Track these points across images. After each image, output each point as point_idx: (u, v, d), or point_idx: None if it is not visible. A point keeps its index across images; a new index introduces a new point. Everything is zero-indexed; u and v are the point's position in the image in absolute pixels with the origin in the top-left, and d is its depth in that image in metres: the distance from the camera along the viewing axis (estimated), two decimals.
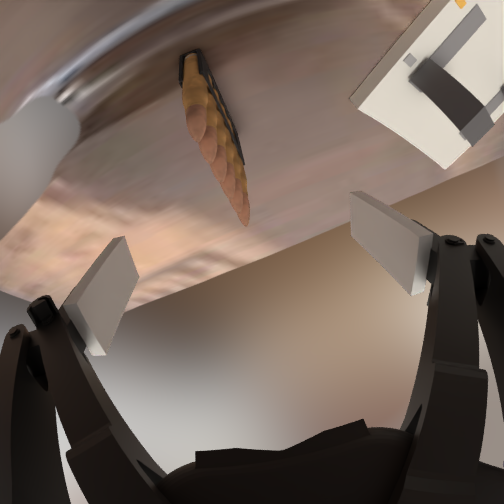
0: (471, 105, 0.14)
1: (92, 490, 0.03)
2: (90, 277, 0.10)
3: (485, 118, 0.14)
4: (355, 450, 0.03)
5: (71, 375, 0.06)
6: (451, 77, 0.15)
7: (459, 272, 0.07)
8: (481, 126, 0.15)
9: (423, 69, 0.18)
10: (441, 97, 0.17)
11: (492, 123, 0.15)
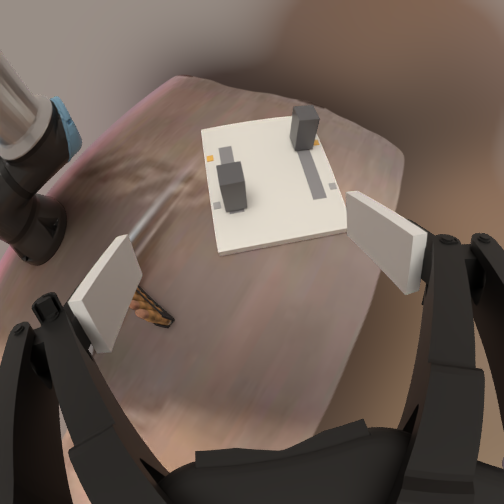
0: None
1: (94, 488, 0.03)
2: (95, 274, 0.10)
3: (227, 166, 0.38)
4: (355, 450, 0.03)
5: (75, 372, 0.06)
6: None
7: (454, 271, 0.07)
8: (231, 171, 0.37)
9: None
10: None
11: (237, 162, 0.38)
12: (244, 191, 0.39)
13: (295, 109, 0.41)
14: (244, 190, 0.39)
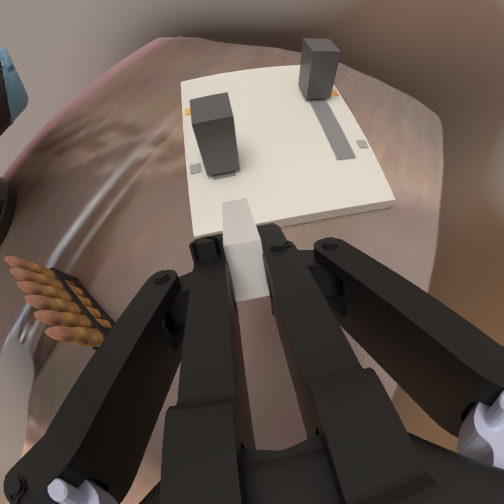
0: None
1: (174, 458, 0.03)
2: (234, 226, 0.13)
3: (206, 99, 0.22)
4: None
5: (214, 327, 0.07)
6: None
7: (296, 277, 0.08)
8: (212, 104, 0.21)
9: None
10: None
11: (222, 94, 0.22)
12: (233, 137, 0.23)
13: (306, 41, 0.25)
14: (233, 135, 0.23)
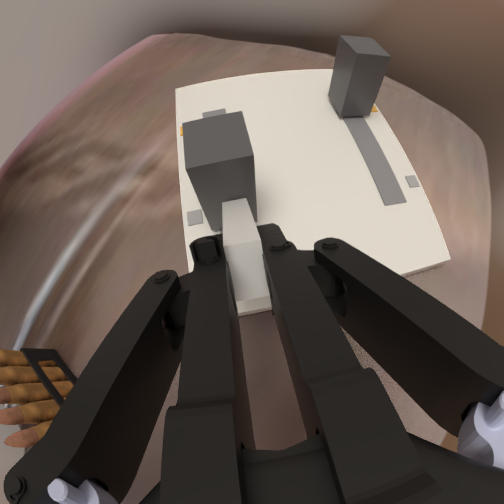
0: None
1: (174, 458, 0.03)
2: (234, 226, 0.13)
3: (209, 123, 0.14)
4: None
5: (214, 327, 0.07)
6: None
7: (296, 276, 0.08)
8: (218, 132, 0.14)
9: None
10: None
11: (233, 114, 0.14)
12: (252, 184, 0.16)
13: (344, 38, 0.18)
14: (252, 181, 0.16)
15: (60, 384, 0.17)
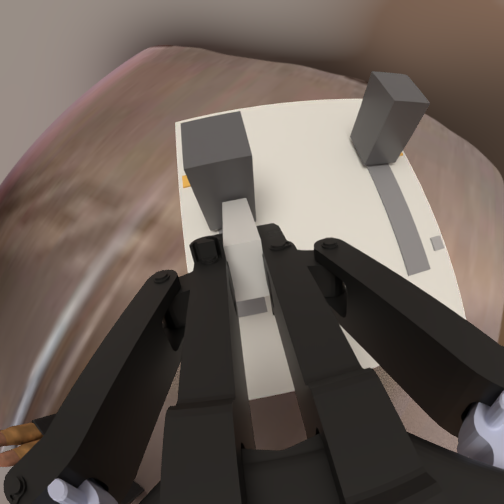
0: None
1: (174, 457, 0.03)
2: (234, 226, 0.13)
3: (207, 123, 0.14)
4: None
5: (214, 327, 0.07)
6: None
7: (296, 277, 0.08)
8: (217, 132, 0.14)
9: None
10: None
11: (232, 114, 0.14)
12: (250, 184, 0.16)
13: (378, 77, 0.16)
14: (250, 181, 0.16)
15: None
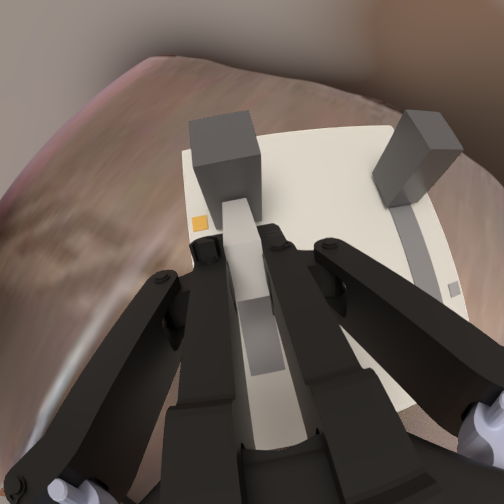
0: None
1: (174, 457, 0.03)
2: (235, 226, 0.13)
3: (216, 121, 0.14)
4: None
5: (214, 327, 0.07)
6: None
7: (296, 277, 0.08)
8: (225, 131, 0.14)
9: None
10: None
11: (240, 113, 0.14)
12: (258, 183, 0.16)
13: (412, 117, 0.14)
14: (258, 180, 0.16)
15: None
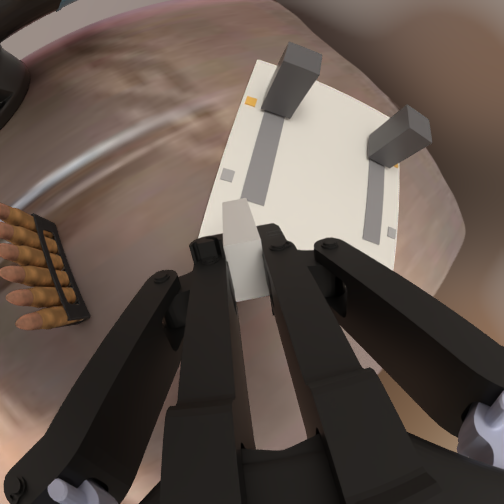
0: (284, 52, 0.21)
1: (174, 458, 0.03)
2: (235, 226, 0.13)
3: (303, 49, 0.21)
4: None
5: (214, 327, 0.07)
6: None
7: (296, 277, 0.08)
8: (306, 56, 0.21)
9: (265, 94, 0.28)
10: (273, 79, 0.24)
11: (317, 53, 0.21)
12: (306, 90, 0.23)
13: (408, 110, 0.23)
14: (307, 89, 0.23)
15: (54, 257, 0.21)
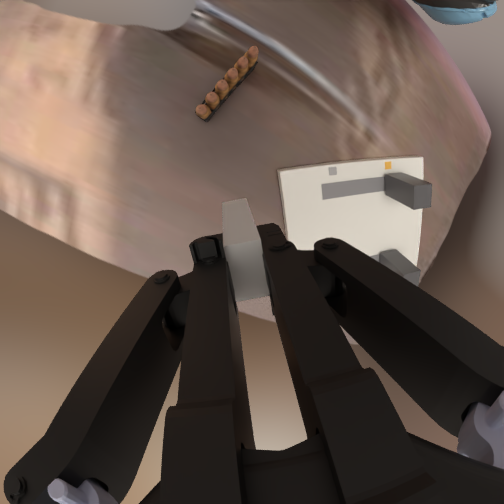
0: (423, 182, 0.33)
1: (174, 457, 0.03)
2: (234, 226, 0.13)
3: (429, 194, 0.33)
4: None
5: (214, 326, 0.07)
6: None
7: (296, 277, 0.08)
8: (424, 198, 0.33)
9: (395, 173, 0.39)
10: (404, 179, 0.35)
11: (430, 203, 0.33)
12: (403, 202, 0.36)
13: (416, 272, 0.38)
14: (404, 203, 0.36)
15: None
